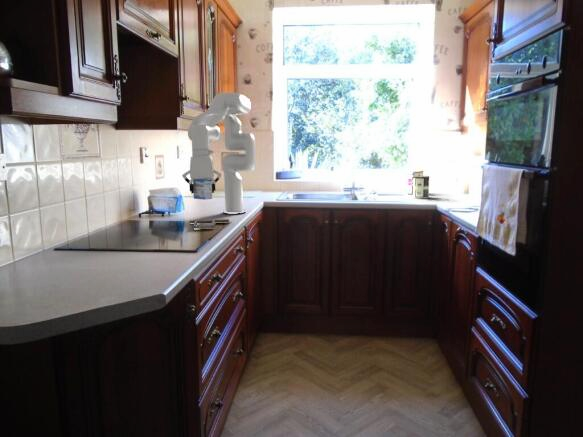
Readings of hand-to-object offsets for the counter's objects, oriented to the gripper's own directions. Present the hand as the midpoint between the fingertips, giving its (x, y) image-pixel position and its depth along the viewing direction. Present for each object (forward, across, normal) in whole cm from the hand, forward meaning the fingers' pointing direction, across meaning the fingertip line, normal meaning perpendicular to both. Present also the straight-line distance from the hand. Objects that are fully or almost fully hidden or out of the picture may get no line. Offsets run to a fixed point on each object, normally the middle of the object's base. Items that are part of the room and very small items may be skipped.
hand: (202, 192), depth 199 cm
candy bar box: (+16, -142, -100) cm, 174 cm away
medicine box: (+3, 0, 0) cm, 3 cm away
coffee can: (+16, -137, -79) cm, 159 cm away
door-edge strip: (+16, -2, -8) cm, 17 cm away
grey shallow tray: (+16, 0, 0) cm, 16 cm away
